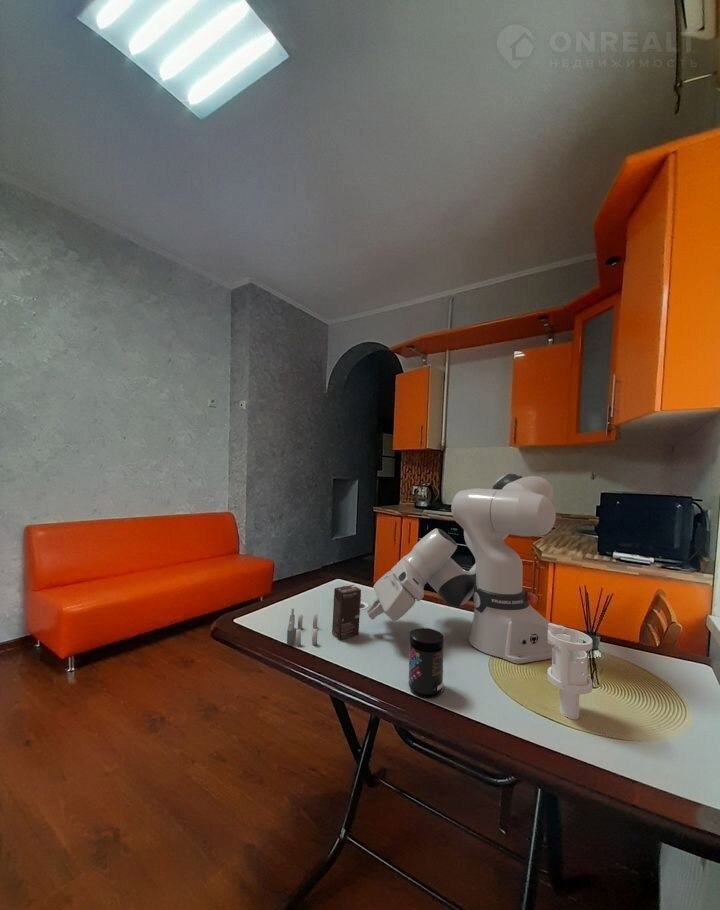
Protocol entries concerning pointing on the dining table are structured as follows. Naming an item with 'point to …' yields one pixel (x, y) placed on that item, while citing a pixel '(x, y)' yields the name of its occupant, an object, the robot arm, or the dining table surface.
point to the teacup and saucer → (364, 604)
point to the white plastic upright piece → (569, 668)
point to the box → (346, 612)
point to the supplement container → (426, 662)
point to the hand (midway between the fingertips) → (369, 615)
